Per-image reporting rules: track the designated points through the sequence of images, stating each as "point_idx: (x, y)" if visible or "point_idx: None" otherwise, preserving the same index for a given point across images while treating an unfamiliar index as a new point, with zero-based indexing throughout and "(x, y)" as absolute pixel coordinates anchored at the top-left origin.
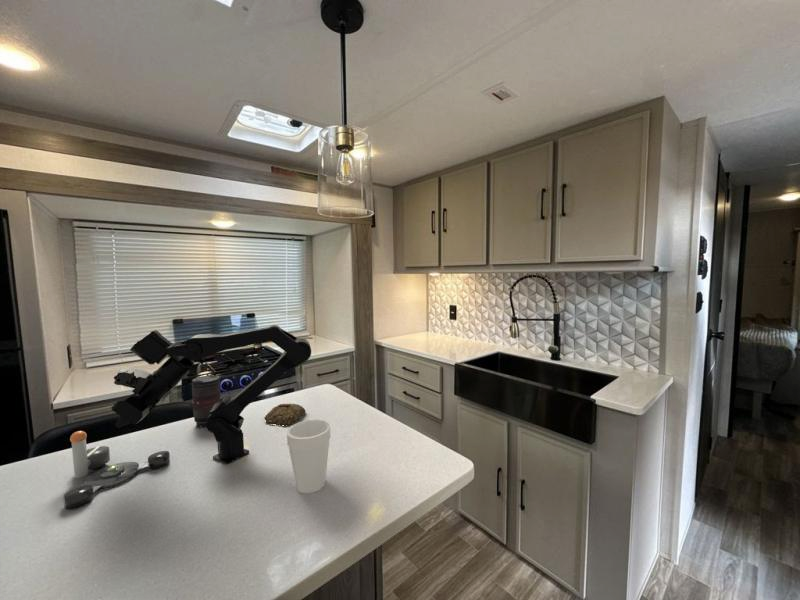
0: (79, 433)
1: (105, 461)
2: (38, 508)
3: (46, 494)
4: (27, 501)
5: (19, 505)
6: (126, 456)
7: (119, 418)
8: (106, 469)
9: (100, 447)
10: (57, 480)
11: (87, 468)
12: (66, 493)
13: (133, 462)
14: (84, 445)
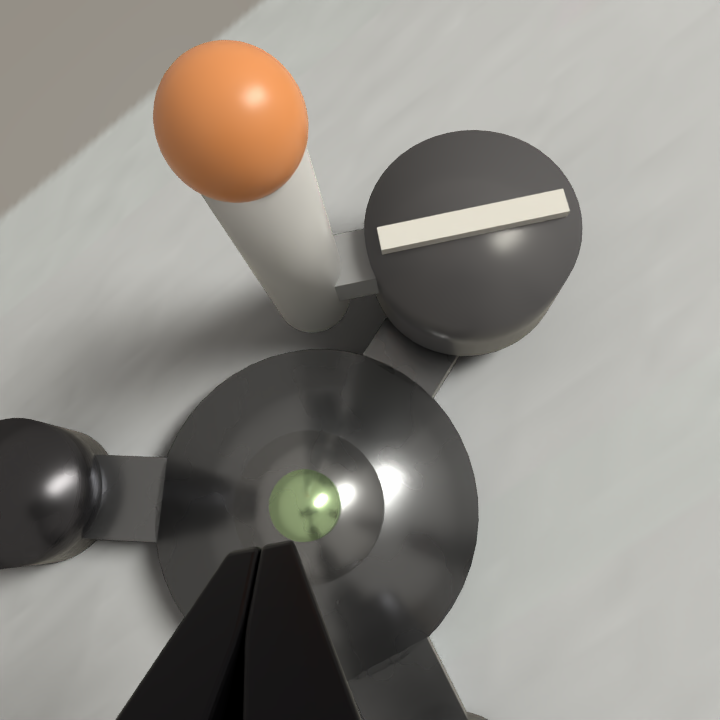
0: (184, 119)
1: (455, 349)
2: (63, 292)
3: (198, 220)
4: (149, 176)
5: (120, 168)
6: (630, 392)
7: (127, 704)
8: (316, 454)
9: (559, 219)
10: (346, 158)
11: (312, 318)
12: (2, 425)
13: (465, 566)
14: (251, 234)
